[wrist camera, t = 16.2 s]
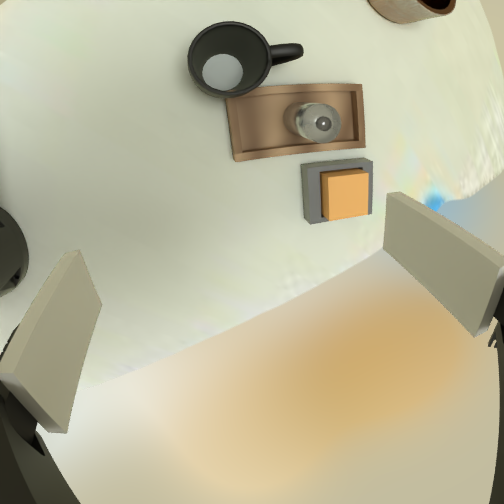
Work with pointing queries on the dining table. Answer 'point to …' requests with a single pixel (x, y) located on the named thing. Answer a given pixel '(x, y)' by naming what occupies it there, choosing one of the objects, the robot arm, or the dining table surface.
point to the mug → (238, 55)
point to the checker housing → (313, 184)
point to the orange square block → (344, 193)
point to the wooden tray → (272, 126)
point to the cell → (313, 121)
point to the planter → (412, 9)
